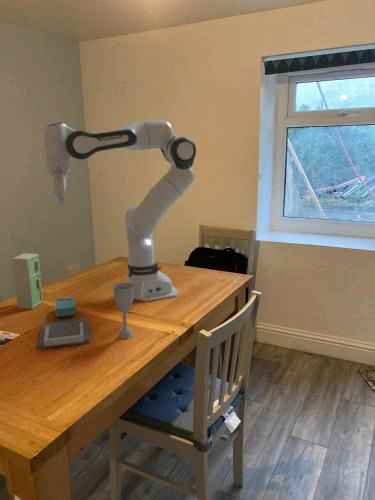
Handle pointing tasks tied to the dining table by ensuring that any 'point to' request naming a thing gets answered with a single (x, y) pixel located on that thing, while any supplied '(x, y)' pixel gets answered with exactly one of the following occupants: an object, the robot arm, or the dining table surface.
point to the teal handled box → (65, 307)
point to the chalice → (124, 305)
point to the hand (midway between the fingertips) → (61, 202)
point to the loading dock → (64, 333)
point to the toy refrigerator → (27, 280)
